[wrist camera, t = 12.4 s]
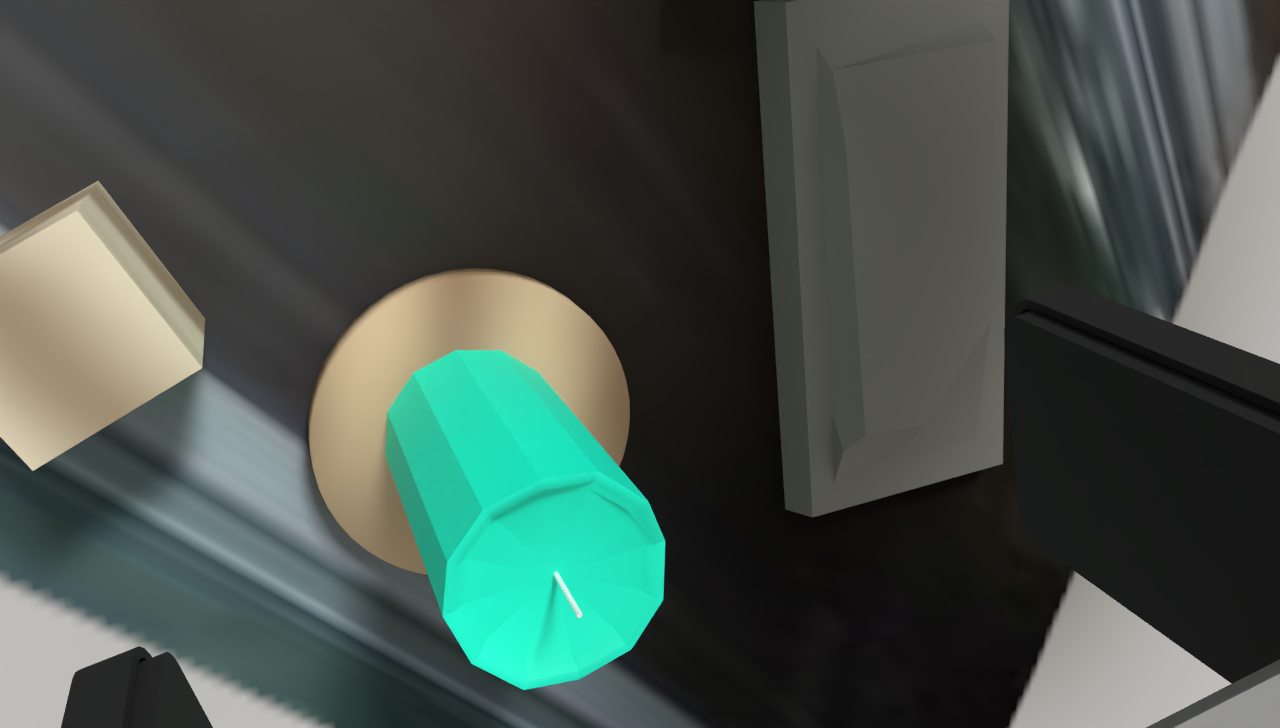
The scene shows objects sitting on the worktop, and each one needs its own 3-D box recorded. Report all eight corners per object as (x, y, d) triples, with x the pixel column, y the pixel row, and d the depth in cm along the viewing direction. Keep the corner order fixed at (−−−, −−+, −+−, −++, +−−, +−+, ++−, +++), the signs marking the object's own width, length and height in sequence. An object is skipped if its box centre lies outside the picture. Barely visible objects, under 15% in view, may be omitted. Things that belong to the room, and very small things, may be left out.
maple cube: (98, 180, 30) (77, 210, 26) (205, 318, 32) (202, 368, 28) (-61, 270, 29) (-111, 318, 25) (59, 405, 32) (32, 470, 27)
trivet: (581, 228, 36) (592, 234, 35) (645, 498, 40) (656, 511, 39) (259, 326, 33) (261, 337, 32) (366, 605, 37) (370, 623, 36)
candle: (525, 525, 37) (644, 734, 27) (360, 494, 35) (420, 710, 24) (581, 371, 36) (729, 525, 26) (415, 327, 34) (504, 477, 23)
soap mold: (775, 506, 43) (817, 545, 40) (742, 0, 36) (791, 0, 33) (980, 445, 46) (1034, 477, 43) (988, -32, 39) (1054, -35, 36)
